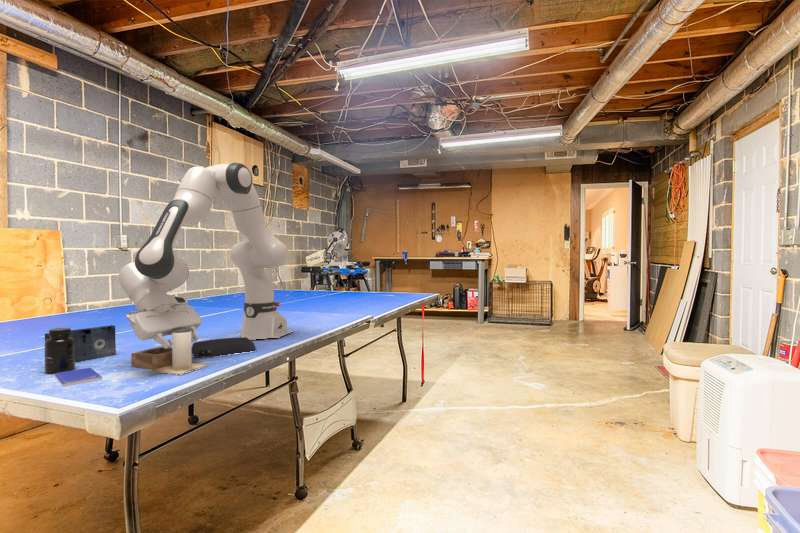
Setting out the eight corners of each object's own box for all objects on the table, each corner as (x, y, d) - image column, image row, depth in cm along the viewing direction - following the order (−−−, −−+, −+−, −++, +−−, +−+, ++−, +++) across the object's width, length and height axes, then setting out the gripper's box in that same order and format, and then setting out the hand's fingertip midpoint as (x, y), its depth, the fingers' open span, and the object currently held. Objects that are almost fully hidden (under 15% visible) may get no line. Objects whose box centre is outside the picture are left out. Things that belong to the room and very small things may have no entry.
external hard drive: (190, 352, 144) (190, 340, 144) (248, 346, 154) (248, 335, 154) (194, 361, 133) (194, 348, 133) (257, 353, 143) (257, 342, 143)
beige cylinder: (182, 364, 125) (182, 327, 125) (195, 365, 123) (195, 328, 123) (168, 368, 120) (167, 330, 120) (181, 370, 119) (181, 331, 118)
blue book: (102, 375, 111) (91, 367, 120) (63, 382, 105) (54, 372, 114) (102, 381, 111) (91, 372, 120) (63, 388, 105) (54, 378, 114)
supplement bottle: (39, 374, 115) (38, 331, 115) (52, 368, 122) (51, 327, 122) (68, 373, 117) (67, 330, 117) (80, 366, 124) (79, 326, 123)
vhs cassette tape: (112, 354, 140) (112, 324, 139) (116, 355, 138) (116, 325, 138) (44, 366, 124) (43, 333, 123) (48, 368, 122) (47, 334, 122)
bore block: (160, 358, 133) (160, 346, 133) (185, 361, 130) (184, 348, 130) (131, 366, 124) (131, 353, 124) (156, 369, 121) (156, 356, 121)
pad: (182, 363, 128) (182, 361, 128) (208, 366, 125) (208, 364, 125) (153, 372, 119) (153, 370, 118) (180, 375, 115) (180, 373, 115)
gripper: (129, 305, 113) (157, 343, 111) (190, 297, 133) (214, 330, 130) (118, 320, 115) (144, 358, 112) (179, 310, 134) (203, 343, 131)
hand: (182, 343), depth 121 cm, fingers open, 8 cm apart
